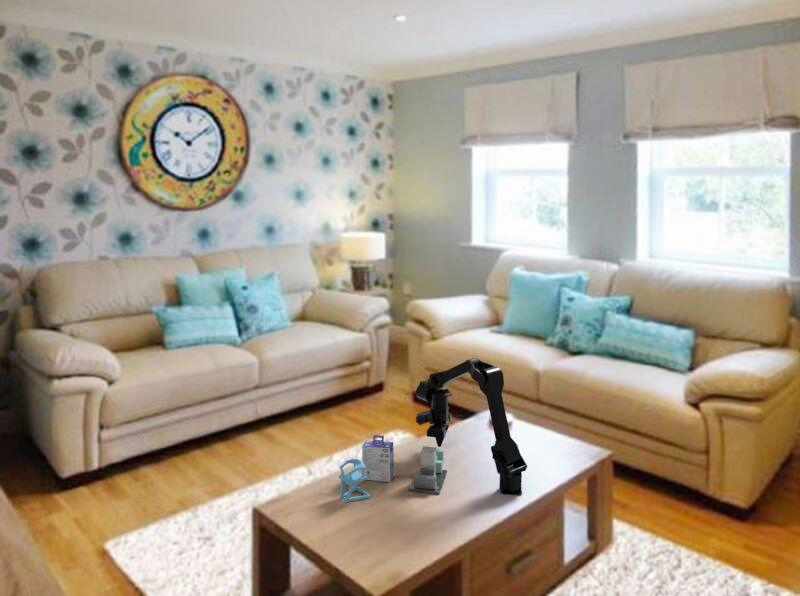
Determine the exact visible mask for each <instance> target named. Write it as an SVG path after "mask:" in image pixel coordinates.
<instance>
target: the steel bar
mask: <svg viewBox="0 0 800 596" xmlns="http://www.w3.org/2000/svg"><path fill="white" fill-rule="evenodd" d="M436 449H437V447H433V446H422V448H421V450H420V468H421V475H428V476H436Z"/></svg>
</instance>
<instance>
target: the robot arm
mask: <svg viewBox="0 0 800 596" xmlns="http://www.w3.org/2000/svg"><path fill="white" fill-rule="evenodd" d="M468 374H469V375H470V377H471V379H472V380H474V381H475V382H476V383H477V384H478V387H479V391H481V392H482V394H483V395H485V397H486V401H487V406H488V410H489V415H490V418H491V424H492V428H493V429H492V430H493V432H494V433H493V434H494V439H495V441H494V444H493V445H491V446H490V451H491V456H492V460H493V461H494V465H495V469H496V473H497V474H498V475H499V482H498V483H499V484H498V486H499V489H500V493H501V494H503V495H517V496H518V495H519V494H521V495H523V491H522V477H523V474H522V473H524V472H525V471H526V470H527V469H528V464H527V463H526V461H525V460H524V458H523V456H522V454H521V453H520V450H519V446H518V444H517V443H516V441H515V440H514V439H513V438H512V436H511V432H510V426H509V422H508V417H507V414H506V409H505V404H504V399H503V395H502V394H503V390H504V386H505V381H504V373H503V370H502V369H501V368H499V367H498V366H495V365H494V364H493V363H489V362H485V361H482V360H481V359H480V358H478V357H473V358H470V359H466V360H465V361H464V362H462V363H459V364H458V365H455V366H453V367H451V368H449V369H444V370H440V371H437V372H436V371H435V372H433V373H430V374H429V376H428V380H427V381H426V380H421V381H419V385H418V386H417V387H416V388H415V389H416V390H415V392H414V394H415V397H417V398H418V399H419V400H420V399H421V401H425V402H427V403H431V409H429V410H428V409H427V410H424V411H421V412H418V413H417V414H416V415H415V422H416V423H417V425H418V426H421V425H424V424H427V423H429V424H430V425H429V426H428V428H427V429H426V436H427V438H435V442H436V445H437V447H438V448H440V447H442V445H443V441H444V439H445V438H446V434H447V432H448V429H449V427H450V425H447V424H448V422H451V421H452V417H453V415H452V413H451V412H449V409H450V407H449V405H448V404H449V403H448V401H449V399H448V398H449V397H451V396H453V393H452V392H451V391H450V390H449V388H445V387H449V386H450V385H452V384H453V383H454V382H455V380H456V379H458V378H460V377H463V376H465V375H468ZM444 388H445V389H444Z"/></svg>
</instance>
